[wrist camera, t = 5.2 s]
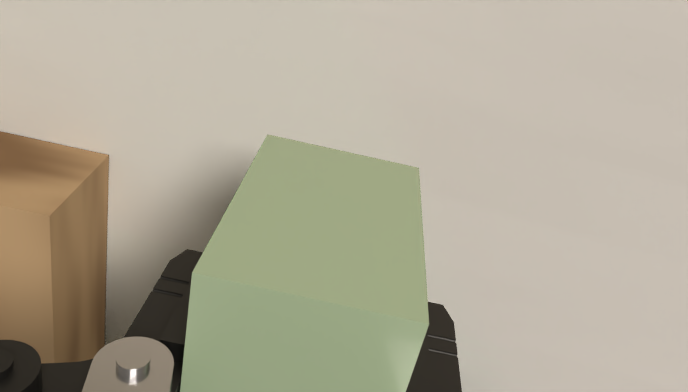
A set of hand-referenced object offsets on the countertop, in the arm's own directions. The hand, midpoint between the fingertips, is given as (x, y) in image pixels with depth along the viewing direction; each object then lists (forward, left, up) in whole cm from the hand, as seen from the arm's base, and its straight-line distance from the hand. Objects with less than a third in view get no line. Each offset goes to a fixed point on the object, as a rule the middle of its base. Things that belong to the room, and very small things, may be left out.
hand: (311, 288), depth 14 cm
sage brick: (0, 0, -1) cm, 1 cm away
